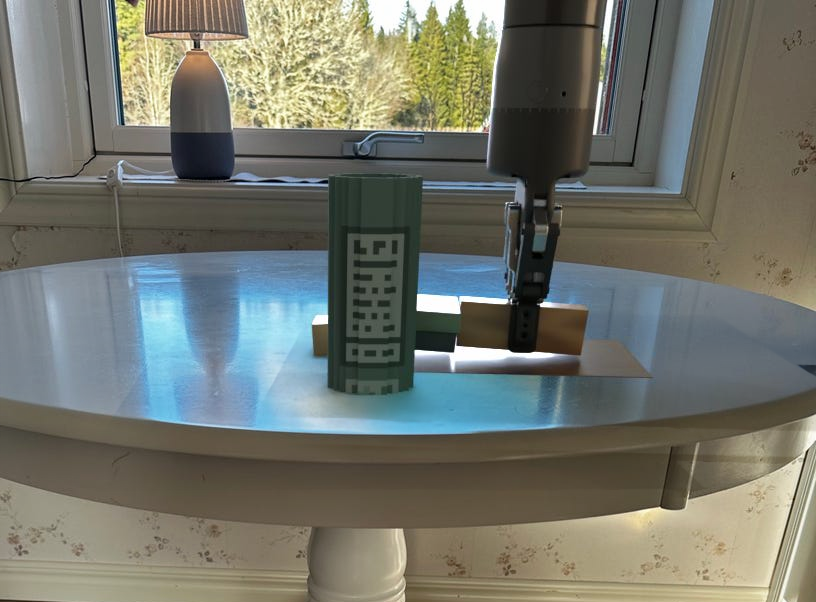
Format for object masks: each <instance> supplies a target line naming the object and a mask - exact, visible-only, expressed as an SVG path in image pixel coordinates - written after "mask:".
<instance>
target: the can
mask: <svg viewBox="0 0 816 602" xmlns="http://www.w3.org/2000/svg"><path fill="white" fill-rule="evenodd" d="M327 179H328V180H327V315H328V356H327V367H326V368H327V369H326V370H327V375H326V377H327V379H326V381H327V388H328V389H333V391H335V392H336V391H338V392H339V393H345V394H353V395H354V394H356V395H357V396H387V395H388V394H389V395H390V394H391V395H393V394H396V395H397V394H399V393H404V392H405V391H407V392H409V389H413V388H414V378H415V372H414V359H415V338H416V317H417V295H418V294H419V273H420V271H419V270H420V252H421V251H420V250H421V249H420V248H421V230H422V229H421V227H422V209H423V208H422V206H423V188H424V187H423V186H424V185H423V184H424V176H423V175H421V174H413V173H412V174H410V173H409V174H408V173H407V174H406V173H388V172H387V173H386V172H356V173H354V172H353V173H351V172H349V173H348V172H347V173H331V174H327Z"/></svg>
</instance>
